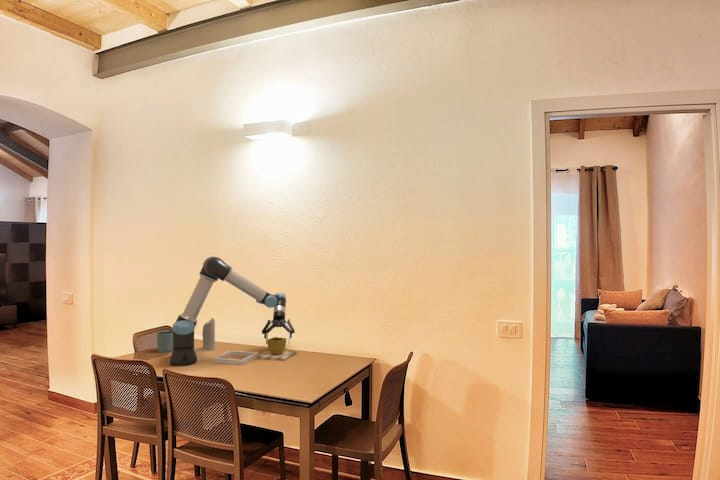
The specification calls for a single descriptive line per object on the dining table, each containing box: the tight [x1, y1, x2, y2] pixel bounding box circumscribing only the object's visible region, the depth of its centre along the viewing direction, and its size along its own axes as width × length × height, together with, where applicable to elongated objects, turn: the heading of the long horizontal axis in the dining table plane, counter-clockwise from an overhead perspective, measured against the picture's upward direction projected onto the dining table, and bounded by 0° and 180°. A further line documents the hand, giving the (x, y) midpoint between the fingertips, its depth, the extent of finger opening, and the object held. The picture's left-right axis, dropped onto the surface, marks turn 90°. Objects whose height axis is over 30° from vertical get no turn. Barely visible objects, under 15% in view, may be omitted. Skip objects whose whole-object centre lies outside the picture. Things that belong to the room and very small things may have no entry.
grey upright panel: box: [194, 317, 216, 352], centre depth 289 cm, size 7×14×20 cm, turn 107°
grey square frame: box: [212, 350, 259, 366], centre depth 264 cm, size 19×19×2 cm
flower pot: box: [267, 336, 287, 355], centre depth 272 cm, size 9×9×9 cm
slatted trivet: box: [256, 349, 298, 361], centre depth 272 cm, size 18×18×2 cm
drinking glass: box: [156, 330, 173, 353], centre depth 286 cm, size 10×10×12 cm
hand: (277, 342), depth 272 cm, fingers open, 13 cm apart
